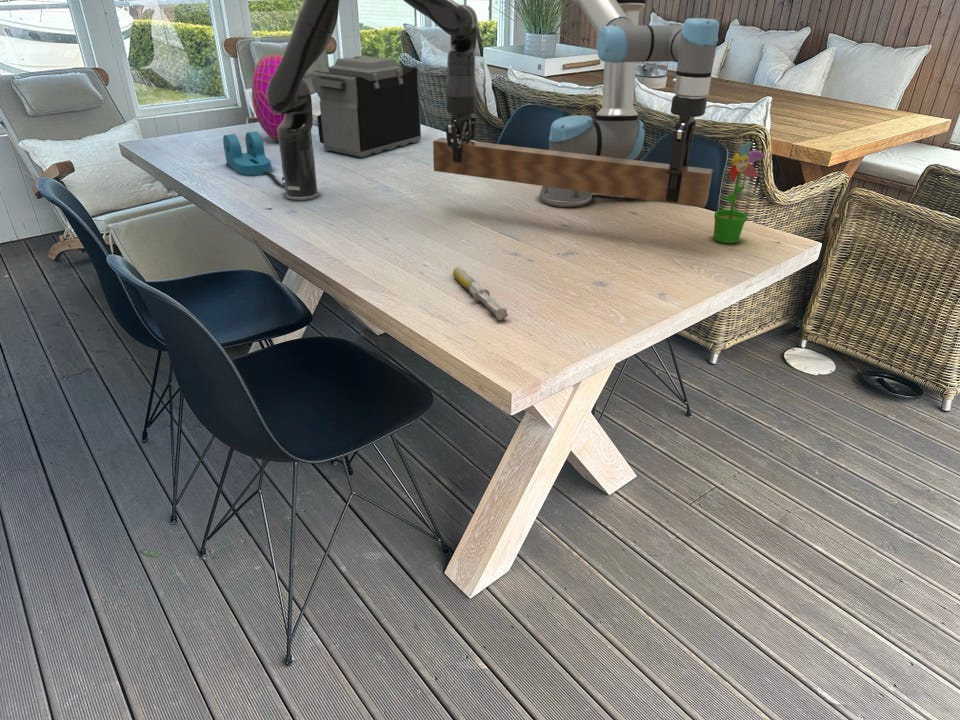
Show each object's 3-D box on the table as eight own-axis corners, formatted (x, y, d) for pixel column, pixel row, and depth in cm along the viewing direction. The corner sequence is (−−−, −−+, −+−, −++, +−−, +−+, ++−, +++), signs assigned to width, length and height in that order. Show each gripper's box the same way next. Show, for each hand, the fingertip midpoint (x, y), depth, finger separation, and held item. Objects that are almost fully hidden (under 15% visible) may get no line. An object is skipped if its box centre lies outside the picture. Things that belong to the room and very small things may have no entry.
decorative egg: (293, 132, 276) (283, 50, 261) (319, 140, 264) (310, 56, 249) (249, 139, 265) (236, 54, 250) (273, 148, 253) (261, 60, 238)
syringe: (449, 274, 155) (449, 263, 153) (465, 272, 156) (464, 260, 154) (490, 323, 135) (491, 310, 133) (508, 319, 136) (508, 307, 134)
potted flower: (724, 247, 171) (744, 145, 158) (701, 237, 177) (720, 137, 164) (751, 241, 175) (774, 141, 162) (728, 231, 181) (748, 134, 168)
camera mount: (227, 164, 233) (221, 132, 227) (257, 160, 238) (252, 129, 233) (244, 176, 220) (239, 143, 215) (276, 172, 225) (271, 139, 220)
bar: (707, 202, 164) (713, 169, 160) (703, 208, 161) (709, 174, 157) (441, 167, 190) (441, 137, 186) (433, 170, 187) (433, 141, 183)
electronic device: (383, 133, 276) (378, 52, 261) (425, 141, 265) (422, 56, 250) (314, 150, 251) (304, 61, 235) (358, 160, 240) (350, 67, 224)
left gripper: (460, 87, 183) (460, 152, 191) (435, 95, 171) (436, 164, 180) (486, 90, 180) (485, 155, 189) (461, 98, 169) (461, 168, 177)
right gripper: (680, 88, 161) (666, 186, 173) (664, 100, 148) (649, 206, 159) (713, 91, 159) (696, 190, 171) (700, 103, 145) (682, 211, 157)
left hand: (461, 159), depth 184 cm, fingers closed on bar, 4 cm apart
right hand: (673, 198), depth 165 cm, fingers closed on bar, 5 cm apart
